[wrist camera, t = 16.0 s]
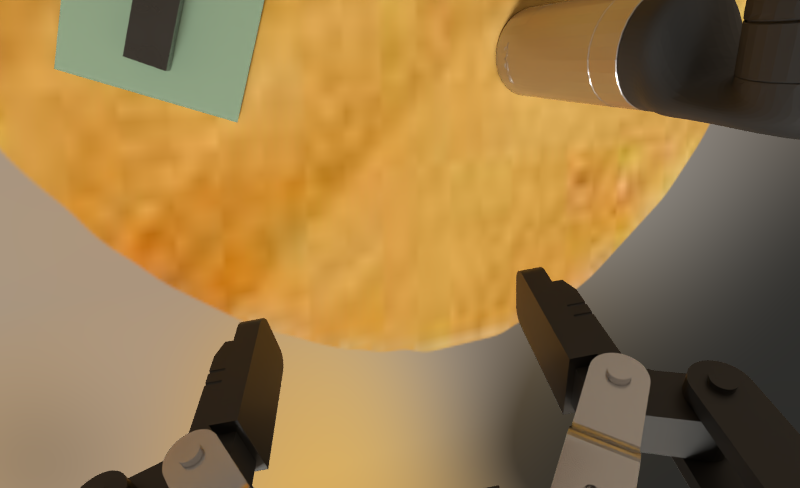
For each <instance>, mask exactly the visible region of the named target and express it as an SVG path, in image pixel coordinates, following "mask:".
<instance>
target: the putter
mask: <svg viewBox="0 0 800 488" xmlns="http://www.w3.org/2000/svg"><path fill="white" fill-rule="evenodd" d="M184 1H185V0H132V5H131V11H130V17H129V23H128V28H127V34H126V40H125V46H124V52H123V57H126V58H129V59H132V60H135V61H138V62H141V63H143V64H146V65H149V66H152V67H155V68H158V69H161V70H164V71H170V70H171V66H172V61H173V56H174V51H175V46H176V41H177V36H178V31H179V26H180V21H181V16H182V11H183V6H184Z"/></svg>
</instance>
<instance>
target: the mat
mask: <svg viewBox="0 0 800 488" xmlns="http://www.w3.org/2000/svg"><path fill="white" fill-rule="evenodd" d="M263 4H264V0H185V1H184V6H183V11H182V16H181V21H180V26H179V31H178V36H177V41H176V46H175V51H174V56H173V61H172V66H171V70H170V71H164V70H161V69H158V68H155V67H152V66H149V65H146V64H143V63H141V62H138V61H135V60H132V59H129V58H126V57H123V52H124V46H125V40H126V34H127V28H128V23H129V17H130V11H131V5H132V0H61V6H60V16H59V26H58V36H57V46H56V56H55V66H54V69H57V70H60V71H63V72H67V73H70V74H74V75H77V76H80V77H84V78H87V79H91V80H94V81H98V82H101V83H104V84H108V85H111V86H115V87H118V88H121V89H125V90H128V91H132V92H135V93H139V94H142V95H145V96H149V97H152V98H156V99H159V100H162V101H166V102H169V103H173V104H176V105H179V106H183V107H186V108H190V109H193V110H197V111H200V112H203V113H207V114H210V115H214V116H217V117H220V118H224V119H227V120H231V121H234V122H238V117H239V113H240V108H241V104H242V99H243V95H244V90H245V86H246V81H247V77H248V72H249V67H250V63H251V58H252V54H253V49H254V45H255V40H256V36H257V31H258V27H259V22H260V18H261V13H262V9H263Z"/></svg>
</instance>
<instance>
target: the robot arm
mask: <svg viewBox="0 0 800 488" xmlns="http://www.w3.org/2000/svg"><path fill="white" fill-rule="evenodd" d="M496 65H497V69H498V73H499V76H500V78H501V80H502V82H503V83H504V84H505V86H506V87H507V88H508V89H509V90H511V91H512V92H514V93H516V94H518V95H525V96H532V97H540V98H546V99H554V100H562V101H570V102H578V103H586V104H594V105H602V106H610V107H619V108H627V109H635V110H644V111H651V112H655V113H658V114H660V115H664V116H668V117H674V118H681V119H688V120H693V121H699V122H704V123H710V124H715V125H720V126H725V127H729V128H734V129H739V130H744V131H749V132H754V133H759V134H765V135H771V136H777V137H783V138H791V139H798V140H800V0H747V1H746V6H745V11H744V21H743V24H742V20H741V16H740V12H739V9H738V6H737V4H736V2H735V0H571V1H565V2H559V3H552V4H546V5H540V6H534V7H530V8H526V9H523V10H522V11H520V12H518V13H516V14H515V15H514V16H513V17H512V18H511V19H510V20H509V21H508V23H507V24H506V26H505V27H504V29H503V31H502V33H501V35H500V38H499V41H498V44H497V51H496ZM516 309H517V315H518V319H519V322H520V325H521V327H522V329H523V332H524V334H525V336H526V338H527V340H528V342H529V344H530V346H531V348H532V350H533V352H534V355H535V357H536V359H537V361H538V363H539V365H540V367H541V369H542V371H543V373H544V375H545V378H546V380H547V382H548V384H549V386H550V388H551V390H552V392H553V394H554V396H555V398H556V401H557V403H558V405H559V407H560V409H561V411H562V413H563V414H569V413H574V412H575V416H574V420H573V423H572V426H570V427H569V429H568V432H567V435H566V439H565V442H564V445H563V449H562V452H561V456H560V459H559V462H558V466H557V469H556V472H555V476H554V479H553V482H552V486H551V488H636V487H637V480H638V474H639V467H640V460H641V452H644V453H651V454H658V455H666V456H671V457H672V459H673V460H674V462H675V464H676V465H677V467H678V469H679V470H680V472H681V474H682V475H683V477H684V479H685V481H686V482H687V484H688V486H689V487H690V488H800V434H799V433H798V432H797V431H796V430H795V429H794V428H793V427H792V425H791V424H790V423H789V422H788V421H787V420H786V418H785V417H784V416H783V415H782V414H781V413H780V412H779V410H778V409H777V408H776V407H775V406H774V405H773V404H772V403H771V401H770V400H769V399H768V398H767V397H766V396H765V395H764V393H763V392H762V391H761V390H760V389H759V388H758V387H757V385H756V384H755V383H754V382H753V381H752V380H751V379H750V378H749V377H748V376H747V375H746V374H745V373H743V372H742V371H740V370H739V369H737V368H735V367H733V366H731V365H728V364H726V363H722V362H718V361H709V360H707V361H699V362H697V363H694V364H693V365H691V366H690V368H689V369H688V372H687V374H685V373H673V372H662V371H654V370H649V369H646V368H645V367H643V365H642V364H641V363H639V362H638V361H637V360H635V359H633V358H631V357H629V356H626V355H623V354H621V352H620V351H619V350H618V348H617V347H616V346H615V344H614V343H613V341H612V340H611V338H610V337H609V336H608V334H607V333H606V331H605V330H604V328H603V327H602V326H601V324H600V323H599V321H598V320H597V319H596V317H595V316H594V314H592V312H591V310H590V308H589V307H588V306H587V304H585V301H584V300H583V298H582V297H581V296H580V294H579V293H578V291H577V290H576V289H575V288H573V287H572V286H570V285H569V284H567V283H566V282H565V281H563V280H559V281H553V282H552V281H551V279H550V278H549V276H548V275H547V273H546V271H545V270H544V269H543V268H542V267H538V268H533V269H527V270H522V271H518V272H517V277H516ZM282 374H283V357H282V353H281V350H280V348H279V345H278V343H277V341H276V339H275V337H274V335H273V332H272V330H271V328H270V326H269V324H268V322H267V320H266V319H265V318H262V319H256V320H251V321H245V322H241V323H240V324H239V325H238V327H237V331H236V334H235V337H234V341H228V342H225V343H224V344H223V346H222V347H221V348H220V350H219V351H218V352H217V353H216V355H215V356H214V359H213V362H212V365H211V368H210V374H208V377H207V380H206V386H204V389H203V392H202V395H201V398H200V401H199V404H198V407H197V410H196V413H195V416H194V419H193V422H192V425H191V428H190V431H189V433H188V434H187V435H185V436H183V437H182V438H180V439H179V440H178V441H177V442H176V443H175V444H174V445H173V446H172V447H171V448H170V449H169V451H168V452H167V454H166V456H165V458H164V461H162V462H160V463H159V464H157V465H155V466H152V467H150V468H148V469H146V470H144V471H142V472H140V473H138V474H136V475H134V476H132V477H130V478H127V477H126V476H125V475H124V474H123V473H121V472H119V471H107V472H104V473H101V474H99V475H97V476H95V477H94V478H92V479H91V480H89V481H88V482H86V483H85V484H84V485H83V486H82V487H81V488H253V486H252V482H253V476H254V471H259V470H265V469H268V466H269V459H270V453H271V446H272V440H273V433H274V426H275V420H276V413H277V407H278V400H279V394H280V387H281V381H282ZM488 488H499V486H494V487H488Z"/></svg>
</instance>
